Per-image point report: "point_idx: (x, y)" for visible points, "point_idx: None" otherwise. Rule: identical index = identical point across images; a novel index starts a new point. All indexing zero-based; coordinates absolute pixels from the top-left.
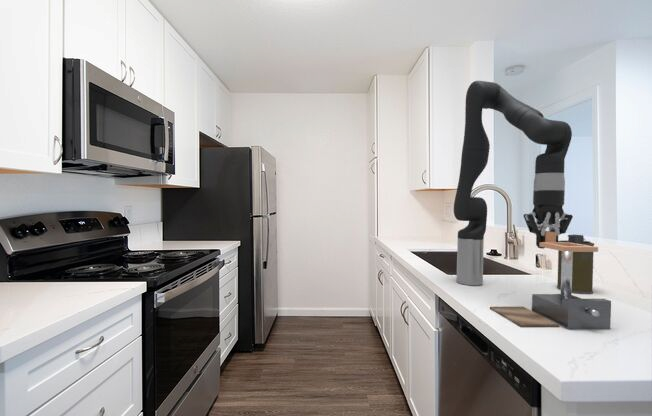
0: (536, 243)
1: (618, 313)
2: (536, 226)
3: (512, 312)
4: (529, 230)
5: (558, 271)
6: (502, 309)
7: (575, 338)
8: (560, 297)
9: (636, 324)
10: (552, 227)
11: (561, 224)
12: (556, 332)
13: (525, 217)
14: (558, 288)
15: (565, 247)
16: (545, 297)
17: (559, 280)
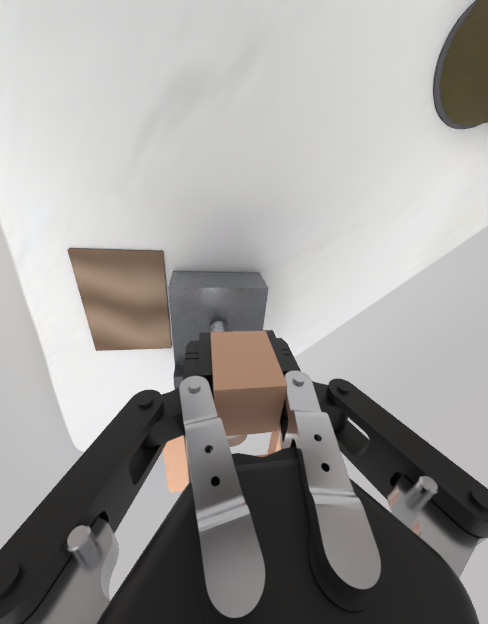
0: (185, 351)
1: (347, 286)
2: (141, 477)
3: (111, 291)
4: (127, 407)
5: None
6: (95, 271)
7: (165, 379)
8: (210, 327)
9: (313, 333)
10: (285, 439)
11: (366, 449)
12: (150, 363)
13: (9, 565)
14: (447, 39)
15: (173, 489)
16: (184, 313)
17: (480, 24)
